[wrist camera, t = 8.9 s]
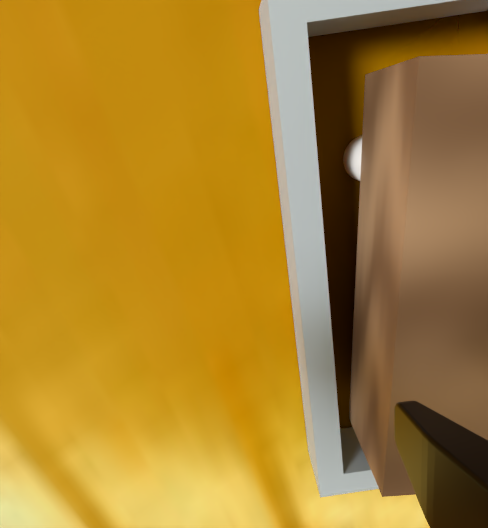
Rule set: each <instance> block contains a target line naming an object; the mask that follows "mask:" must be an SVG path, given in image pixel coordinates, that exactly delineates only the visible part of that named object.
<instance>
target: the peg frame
mask: <svg viewBox="0 0 488 528" xmlns="http://www.w3.org/2000/svg"><path fill="white" fill-rule="evenodd" d="M482 11H488V0H262V1H261V4H260V7H259V16H260V25H261V34H262V43H263V51H264V60H265V69H266V78H267V87H268V96H269V105H270V114H271V123H272V132H273V140H274V149H275V158H276V167H277V176H278V185H279V194H280V203H281V212H282V220H283V229H284V238H285V247H286V256H287V265H288V274H289V283H290V292H291V301H292V309H293V318H294V327H295V336H296V345H297V354H298V363H299V372H300V381H301V390H302V398H303V407H304V416H305V425H306V434H307V443H308V452H309V455H310V459H311V463H312V467H313V471H314V475H315V478H316V482H317V486H318V490H319V494H320V497H326V496H332V495H339V494H346V493H353V492H359V491H366V490H373V489H379V487H378V485H377V483H376V480H375V478H374V476H373V473H372V471H371V469H370V466H369V464H368V462H367V459H366V457H365V455H364V452H363V450H362V448H361V445H360V443H359V441H358V438H357V436H356V434H355V431H354V429H353V427H348V428H341V429H340V424H339V412H338V400H337V387H336V375H335V363H334V350H333V338H332V326H331V314H330V301H329V289H328V277H327V264H326V252H325V240H324V227H323V215H322V203H321V191H320V178H319V166H318V154H317V141H316V129H315V117H314V105H313V92H312V80H311V68H310V55H309V43H308V37H312V36H319V35H326V34H333V33H339V32H346V31H353V30H360V29H367V28H373V27H380V26H387V25H394V24H401V23H408V22H414V21H421V20H428V19H435V18H442V17H448V16H455V15H462V14H469V13H476V12H482ZM361 154H362V135H360V136H358V137H356V138H354V139H353V140H352V141H351V142H350V143H349V144H348V146H347V147H346V149H345V152H344V156H343V164H344V168H345V170H346V172H347V173H348V174H349V175H350V176H351V177H352V178H353V179H355V180H358V181H360V175H361Z"/></svg>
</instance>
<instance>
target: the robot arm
mask: <svg viewBox="0 0 488 528" xmlns="http://www.w3.org/2000/svg"><path fill="white" fill-rule="evenodd" d="M394 436H395V442H396V446H397V449H398V451H399V454H400V456H401V459H402V461H403V464H404V466H405V469H406V471H407V474H408V476H409V479H410V481H411V484H412V486H413V488H414V491H415V493H416V496H417V498H418V501H419V503H420V506H421V508H422V511H423V513H424V515H425V518H426V520H427V522H428V524H429V526H430V528H488V440H486V439H485V438H483V437H481V436H479V435H477V434H476V433H474V432H472V431H470V430H468V429H466V428H465V427H463V426H461V425H459V424H457V423H456V422H454V421H452V420H450V419H448V418H446V417H445V416H443V415H441V414H439V413H437V412H436V411H434V410H432V409H430V408H428V407H427V406H425V405H423V404H421V403H419V402H417V401H414V400H412V401H404V402H398V403H397V404H396V405H395V408H394Z"/></svg>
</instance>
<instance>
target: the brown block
mask: <svg viewBox="0 0 488 528" xmlns="http://www.w3.org/2000/svg"><path fill="white" fill-rule="evenodd" d="M412 400H414V401H417V402H419V403H421V404H423V405H425V406H427V407H428V408H430V409H432V410H434V411H436V412H437V413H439V414H441V415H443V416H445V417H446V418H448V419H450V420H452V421H454V422H456V423H457V424H459V425H461V426H463V427H465V428H466V429H468V430H470V431H472V432H474V433H476V434H477V435H479V436H481V437H483V438H485V439H486V440H488V54H476V55H448V56H419V57H416V58H413V59H410V60H407V61H404V62H402V63H399V64H396V65H393V66H390V67H387V68H384V69H381V70H378V71H375V72H372V73H369V74H366V75H365V92H364V113H363V134H362V154H361V175H360V196H359V217H358V238H357V259H356V279H355V300H354V321H353V342H352V363H351V384H350V404H349V419H350V422H351V424H352V426H353V429H354V431H355V434H356V436H357V438H358V441H359V443H360V445H361V448H362V450H363V452H364V455H365V457H366V459H367V462H368V464H369V466H370V469H371V471H372V473H373V476H374V478H375V480H376V483H377V485H378V487H379V490H380V492H381V494H382V497H384V496H399V495H413V494H416V493H415V491H414V488H413V486H412V484H411V481H410V479H409V476H408V474H407V471H406V469H405V466H404V464H403V461H402V459H401V456H400V454H399V451H398V449H397V446H396V442H395V436H394V408H395V405H396V404H397V403H398V402H404V401H412Z"/></svg>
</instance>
